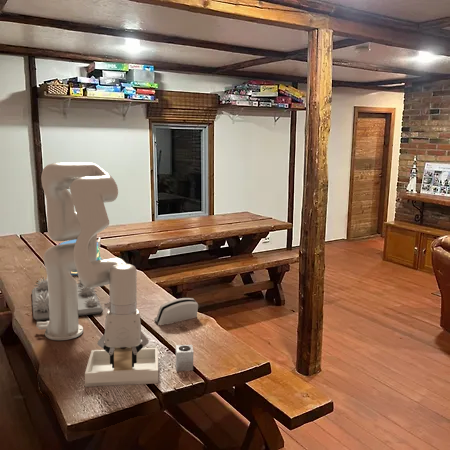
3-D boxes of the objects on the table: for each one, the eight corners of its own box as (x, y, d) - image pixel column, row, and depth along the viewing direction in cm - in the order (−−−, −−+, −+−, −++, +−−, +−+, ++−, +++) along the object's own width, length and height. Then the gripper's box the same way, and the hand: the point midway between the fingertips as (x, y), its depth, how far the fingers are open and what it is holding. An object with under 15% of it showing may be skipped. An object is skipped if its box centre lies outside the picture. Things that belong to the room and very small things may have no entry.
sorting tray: (85, 386, 126) (84, 373, 125) (91, 362, 139) (91, 350, 138) (158, 383, 129) (158, 370, 128) (157, 359, 142) (157, 347, 142)
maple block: (114, 371, 131) (113, 351, 130) (115, 362, 136) (115, 343, 134) (131, 370, 132) (131, 351, 130) (132, 362, 136) (132, 343, 135)
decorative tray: (103, 315, 176) (103, 291, 174) (31, 324, 166) (30, 298, 164) (91, 287, 208) (91, 266, 206) (30, 293, 197) (29, 271, 195)
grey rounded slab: (190, 312, 181) (195, 292, 177) (196, 320, 178) (201, 300, 174) (152, 321, 171) (157, 300, 167) (158, 329, 168) (163, 308, 164)
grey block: (176, 371, 136) (176, 352, 135) (175, 363, 141) (175, 344, 140) (193, 370, 137) (193, 351, 136) (191, 362, 142) (192, 344, 140)
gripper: (90, 312, 125) (91, 373, 129) (153, 311, 128) (152, 370, 131) (94, 302, 132) (95, 360, 136) (153, 301, 135) (152, 358, 139)
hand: (123, 364), depth 133 cm, fingers closed on maple block, 4 cm apart
